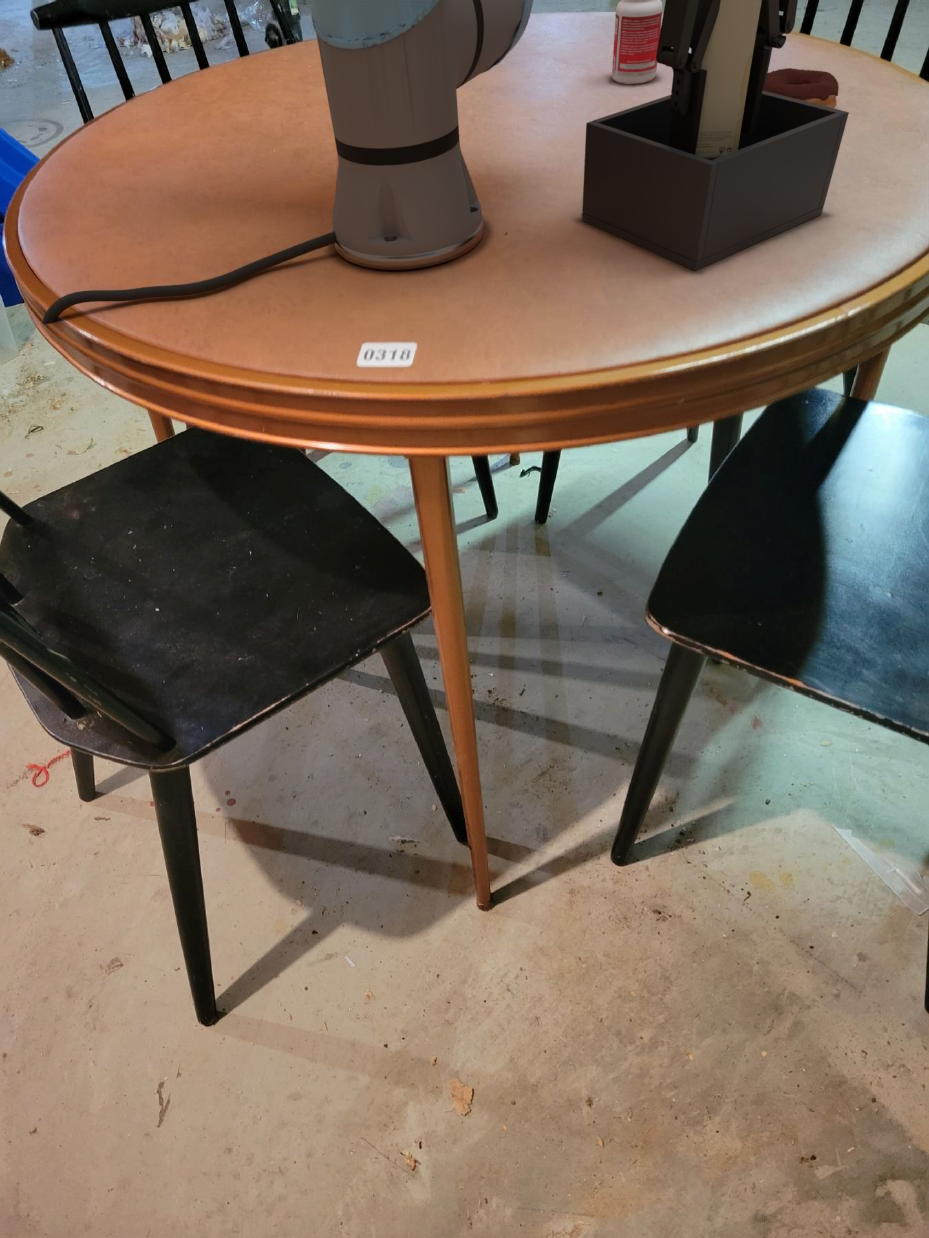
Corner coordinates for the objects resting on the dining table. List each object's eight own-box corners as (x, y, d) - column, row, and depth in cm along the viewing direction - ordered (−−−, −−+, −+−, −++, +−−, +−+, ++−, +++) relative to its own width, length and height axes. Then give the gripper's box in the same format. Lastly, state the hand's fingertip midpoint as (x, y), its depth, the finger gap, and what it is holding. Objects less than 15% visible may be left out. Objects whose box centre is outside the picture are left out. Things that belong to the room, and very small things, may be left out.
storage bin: (694, 271, 70) (711, 165, 64) (581, 220, 79) (585, 122, 72) (821, 214, 76) (849, 112, 69) (703, 173, 85) (717, 79, 78)
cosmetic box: (736, 160, 70) (766, -9, 61) (686, 160, 71) (708, -6, 62) (734, 136, 74) (762, -26, 65) (687, 136, 75) (708, -23, 66)
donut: (852, 110, 95) (862, 72, 92) (799, 131, 91) (808, 91, 88) (785, 94, 101) (792, 57, 98) (733, 112, 97) (739, 75, 94)
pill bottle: (664, 79, 108) (675, -22, 100) (627, 88, 106) (635, -14, 98) (638, 69, 112) (647, -29, 103) (603, 78, 110) (608, -21, 102)
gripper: (815, -229, 61) (753, 107, 78) (626, -201, 54) (604, 160, 71) (900, -233, 56) (815, 123, 74) (707, -203, 50) (662, 182, 67)
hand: (711, 141), depth 72 cm, fingers closed on cosmetic box, 7 cm apart
